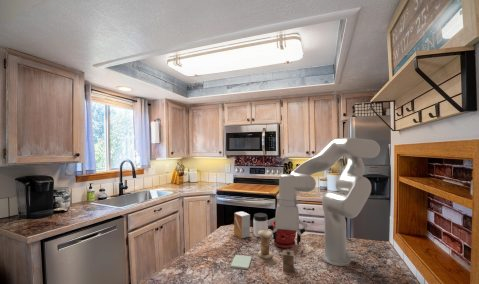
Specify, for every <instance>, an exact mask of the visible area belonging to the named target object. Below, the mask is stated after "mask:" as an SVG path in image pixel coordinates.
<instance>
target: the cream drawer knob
mask: <svg viewBox="0 0 479 284" xmlns="http://www.w3.org/2000/svg"><path fill="white" fill-rule="evenodd" d="M258 236H260V237H259V238H260V250H259V251H258V252H257V255H258V256H257V257H258V258H260V259H262V260H269V259H272V257H273V252H272V251H270V238H271V237H273V233H272V230H271V231H270V230H269V229H268V230H261V231H259V232H258Z"/></svg>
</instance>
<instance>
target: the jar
mask: <svg viewBox="0 0 479 284" xmlns="http://www.w3.org/2000/svg"><path fill="white" fill-rule="evenodd" d="M268 220H269V219H268V215H267V213H264V212H257V213H254V214H253V220H252V221H253V233H252V234H253V235H254V236H255V238H261V237H260V236H258V232H259V231H261V230H268V231H269V226H268V223H267V221H268Z"/></svg>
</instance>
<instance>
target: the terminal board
mask: <svg viewBox="0 0 479 284" xmlns="http://www.w3.org/2000/svg"><path fill="white" fill-rule="evenodd" d="M252 258H253V257H252V255H251V256H249V255H241V254H240V255H239V254H235V255H234V257H233V259H232V261H231V264H230V268H232V269H241V270H249V268H250V266H251V261H252Z"/></svg>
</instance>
